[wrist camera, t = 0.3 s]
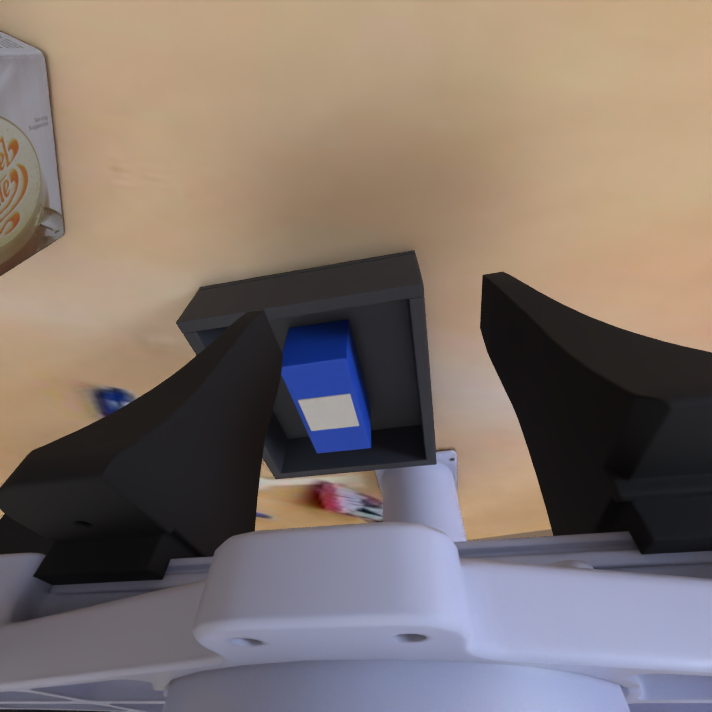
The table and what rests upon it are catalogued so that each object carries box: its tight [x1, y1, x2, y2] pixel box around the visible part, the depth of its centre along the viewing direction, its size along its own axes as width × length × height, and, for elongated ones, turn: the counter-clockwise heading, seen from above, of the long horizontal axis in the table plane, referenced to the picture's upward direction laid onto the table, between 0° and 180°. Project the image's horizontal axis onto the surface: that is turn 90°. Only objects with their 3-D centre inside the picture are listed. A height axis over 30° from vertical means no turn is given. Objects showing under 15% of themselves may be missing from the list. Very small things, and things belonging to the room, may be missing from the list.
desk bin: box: [176, 251, 437, 479], centre depth 25 cm, size 17×14×4 cm
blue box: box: [281, 319, 371, 453], centre depth 25 cm, size 9×4×4 cm, turn 11°
